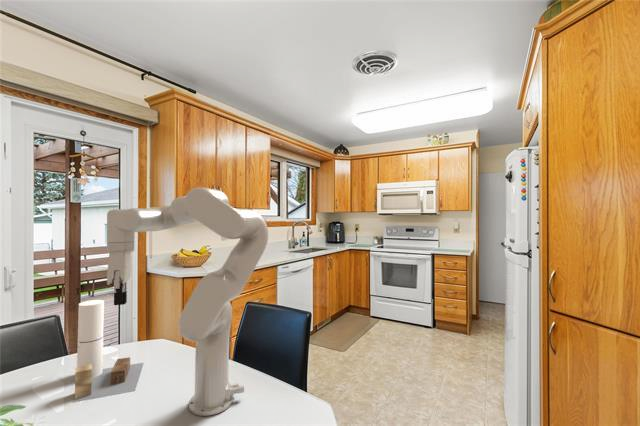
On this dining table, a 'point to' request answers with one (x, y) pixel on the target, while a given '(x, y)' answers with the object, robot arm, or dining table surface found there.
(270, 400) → the dining table surface
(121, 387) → the mat
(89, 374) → the oak block
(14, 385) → the dining table surface
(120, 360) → the walnut block
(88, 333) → the cylindrical container
